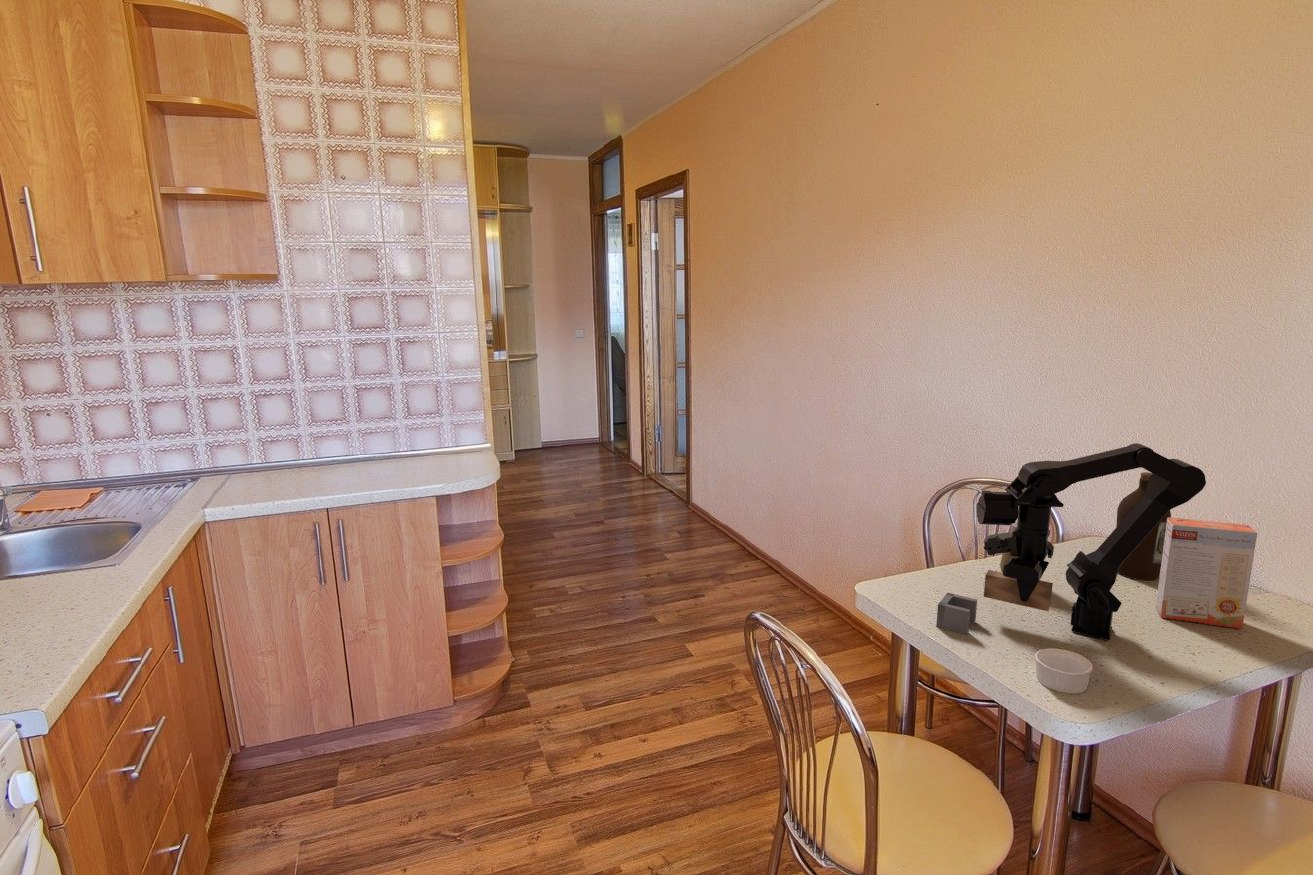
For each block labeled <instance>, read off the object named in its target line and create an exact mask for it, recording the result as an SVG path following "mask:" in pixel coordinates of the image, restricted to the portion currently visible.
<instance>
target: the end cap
mask: <svg viewBox="0 0 1313 875" xmlns="http://www.w3.org/2000/svg"><path fill="white" fill-rule="evenodd" d="M977 607H978V599H977V598H972V597H968V596H964V595H960V594H955V593H951V592H946V593H945V595H944V596H943V597H942V599H940V601H939V602H938V603H937V612H936V626H935V627H936V628H940V629H944V630H947V629H948V630H947V631H951V630H952V632H954V633H958V632H959V633H958V634H963V635H968V634H969V630H970V628H969V627H970V624H973V623H974V624H975V623H976V622H975V621H976V620H977Z"/></svg>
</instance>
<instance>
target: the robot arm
mask: <svg viewBox="0 0 1313 875" xmlns="http://www.w3.org/2000/svg"><path fill="white" fill-rule="evenodd" d="M1140 468H1142V469H1144V470H1145V471H1146V472H1149V473H1153V474H1152V475H1151V477H1150V479H1149V481H1148V486H1147V490H1146V493H1145V495H1144V497H1143V498H1142V499H1141V500H1140V501H1139V502H1138V503H1137V505H1136V506H1135V507H1134V508H1133V509H1132V510H1131V511H1130V513H1129V514H1128V515H1127V516H1126V517H1125V518H1124V519H1123V520H1122V522H1121V523H1120V524H1119V525H1118V526H1117V527H1115V528H1114V529H1113V531H1112V532H1111V533H1110V534H1109V535H1108V536H1107V538H1105V540H1104V541H1103V542H1102V543H1101V544H1100V546H1098V548H1097V549H1096V550H1094V551H1092V552H1090V553H1087V554H1085V553H1084V552H1083V551H1082V550H1079V552H1077V554H1076V556H1075V557H1074V558H1073V560H1072V561H1070V562H1069V563H1067V564H1066V567H1068V568H1067V569H1066V570H1065V573H1064V574H1065V580H1066V582H1067V584H1068V585H1069V586H1070V587H1071V588H1072V589H1073V592H1074V594H1076V595H1077V599H1076V602H1074V603H1073V604H1072V608H1071V616H1070V623H1069V624H1070V625H1071V626H1072V627H1071V632H1073V633H1076V634H1080V635H1085V636H1089V637H1093V638H1097V639H1101V640H1104V641H1105V640H1106V641H1109V640H1110V638H1111V634H1112V632H1113V625H1112V624H1113V623H1112V622H1113V617H1114V616H1113V614H1114V613H1117V612H1118V610H1119V609H1120V607H1121V606H1122V602H1121V600H1120V599H1118V598H1117V597H1116V596H1115V595H1114V594H1113V593H1112V592H1111V590H1112V588H1113V586H1114V585H1115V584H1116V580H1117V577H1118V569H1119V567H1120V565H1121V564H1122V563H1123V562H1124V561H1125V559H1126V558H1127V557H1128V556H1129V555H1130V554H1131V553H1132V552H1133V550H1134V549H1135V548H1136V547H1137V546H1138V545H1139V544H1140V543H1141V542H1142V540H1143V539H1144V538H1145V537H1146V536H1147V535H1148V534H1149V533H1150V532H1151V530H1152V529H1153V528H1154V527H1155V526H1156V525H1157V524H1158V523H1159V521H1160V520H1161V519H1162V518H1163V517H1164V516H1165V515H1166V514H1167V513H1168V511H1170V512H1171V510H1173V509H1175V508H1176V507H1179V506H1181V505H1184V504H1186V503H1188V502H1190V501H1191V500H1192V499H1193V498H1195V497H1196V496H1197V495H1198V494H1199V493H1201V491H1203V489H1205V486H1206V484H1207V480H1206V475H1205V473H1204V471H1203V470H1202V469H1200V468H1199V467H1196V466H1194V465H1192V464H1190V463H1188V462H1186V461H1182V460H1181V459H1179V458H1170V459H1169V458H1167V457H1166V456H1164V455H1161V454H1159V453H1158V452H1156V451H1154V449H1152V448H1151V447H1148V446H1146V445H1144V444H1142V443H1137V442H1136V443H1131V444H1129V445H1127V446H1123V447H1118V448H1115V449H1111V450H1106V451H1103V452H1097V453H1094V454H1090V455H1086V456H1080V457H1077V458H1073V459H1069V460H1068V459H1067V460H1041V461H1031V462H1027V463H1025V464H1023V465H1022V467H1021V468H1020V470H1019V472H1018V474H1017V477H1015V478H1014V479H1013V480H1012V482H1010V484H1008V485H1007V487H1006V488H1005V491H992V490H985V489H984V490H983V489H982V491H981V495H980V496H979V498H978V501H977V503H976V508H975V509H976V510H975V511H976V519H977V522H978V523H979V524H980V525H988V526H989V525H990V526H991V525H993V526H1012V524H1013V523H1017V527H1016V530H1015V531H1013V532H1010V531H1009V532H1001V533H993V534H988V535H987V536H986V537H985V538H984V539H983V544H984V545H983V549H984V550H985V551H986V553H987V556H995V554H996V555H998V554H1002V553H1007V552H1010V556H1015V557H1016V558H1011V559H1010V560H1008V561H1007V562H1006V564H1005V565H1004V568H1003V575H1004V576H1005V577H1009V578H1014V579H1016V580H1017V584H1018V589H1019V594H1020V600H1021V601H1024V602H1027V600H1028V599H1029V597H1030V595H1031V594H1032V592H1033V590H1034V589H1035V587H1036V585H1037V584H1038V582H1039V580H1041V579H1042V577H1043V575H1044V573H1045V571H1046V569H1047V568H1048V566H1049V564H1050V562H1049V561H1047V560H1045V559H1046V558H1048V559H1052V558H1053V556H1054V550H1055V545H1053V544H1052V542H1051V541H1049V537H1050V536H1051V535H1050V534H1051V529H1050V524H1051V523H1050V522H1051V516H1052V515H1051V513H1052V508H1063V507H1064V506H1065V504H1064V503H1063V502H1062V501H1060V499H1059V498H1058V497H1057V495H1056V494H1057V493H1061V492H1063V491H1065V490H1066V489H1068V488H1069V487H1070V486H1072V485H1075V484H1076V483H1077V484H1078V483H1079V482H1083V481H1087V480H1092V479H1096V478H1097V479H1098V478H1100V477H1105V476H1109V475H1113V474H1118V473H1122V472H1127V471H1130V470H1136V469H1140ZM1024 489H1025V490H1024Z"/></svg>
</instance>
